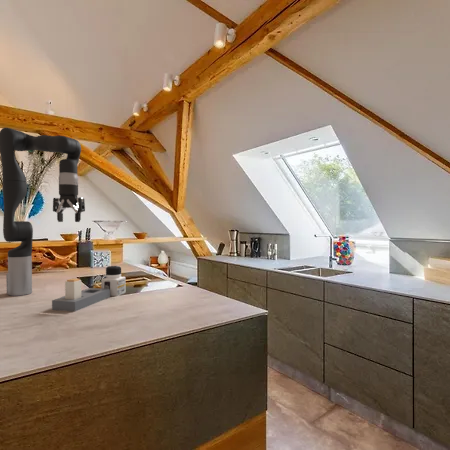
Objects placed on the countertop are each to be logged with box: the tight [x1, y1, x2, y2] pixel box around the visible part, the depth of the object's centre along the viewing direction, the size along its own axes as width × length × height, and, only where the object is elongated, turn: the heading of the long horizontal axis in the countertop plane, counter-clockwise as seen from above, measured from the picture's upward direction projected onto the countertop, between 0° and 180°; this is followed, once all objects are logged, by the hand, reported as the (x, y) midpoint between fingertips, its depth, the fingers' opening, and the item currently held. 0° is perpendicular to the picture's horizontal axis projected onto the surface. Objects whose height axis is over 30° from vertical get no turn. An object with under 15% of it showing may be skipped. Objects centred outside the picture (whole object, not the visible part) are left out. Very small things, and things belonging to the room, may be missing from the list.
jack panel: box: [51, 287, 111, 312], centre depth 129 cm, size 10×22×4 cm, turn 167°
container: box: [100, 265, 127, 297], centre depth 145 cm, size 8×8×13 cm
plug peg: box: [64, 278, 82, 300], centre depth 124 cm, size 4×4×11 cm
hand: (68, 221), depth 138 cm, fingers open, 8 cm apart
